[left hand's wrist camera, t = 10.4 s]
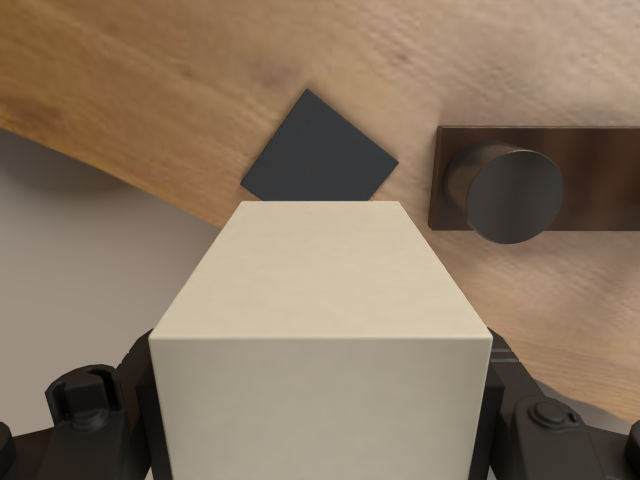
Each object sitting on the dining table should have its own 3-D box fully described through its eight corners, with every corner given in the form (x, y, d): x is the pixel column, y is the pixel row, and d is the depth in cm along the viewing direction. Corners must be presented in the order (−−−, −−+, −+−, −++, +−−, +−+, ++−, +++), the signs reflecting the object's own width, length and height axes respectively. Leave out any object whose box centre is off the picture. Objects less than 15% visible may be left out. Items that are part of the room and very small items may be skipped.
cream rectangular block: (250, 335, 17) (186, 565, 9) (241, 200, 15) (145, 336, 7) (389, 335, 17) (454, 564, 9) (398, 200, 15) (495, 336, 7)
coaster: (240, 183, 36) (239, 184, 36) (306, 88, 33) (306, 88, 33) (328, 245, 38) (329, 248, 38) (398, 161, 36) (399, 162, 35)
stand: (427, 225, 38) (456, 261, 30) (437, 125, 35) (473, 136, 27) (684, 226, 38) (781, 263, 30) (718, 126, 35) (837, 137, 27)
